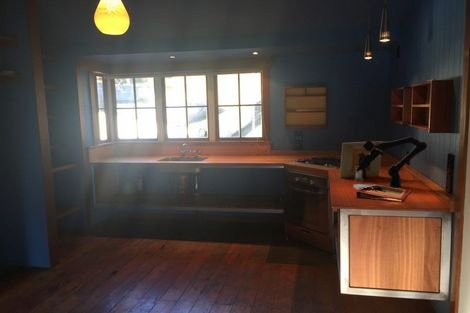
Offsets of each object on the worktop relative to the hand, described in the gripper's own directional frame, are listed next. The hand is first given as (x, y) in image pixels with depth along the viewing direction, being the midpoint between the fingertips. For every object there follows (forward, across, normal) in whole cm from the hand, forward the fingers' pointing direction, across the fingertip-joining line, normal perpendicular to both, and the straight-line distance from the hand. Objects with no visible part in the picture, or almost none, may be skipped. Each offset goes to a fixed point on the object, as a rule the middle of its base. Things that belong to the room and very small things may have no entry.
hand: (356, 170), depth 276 cm
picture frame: (+7, -33, +9) cm, 35 cm away
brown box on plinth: (+4, 0, +6) cm, 7 cm away
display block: (+3, +10, +12) cm, 16 cm away
